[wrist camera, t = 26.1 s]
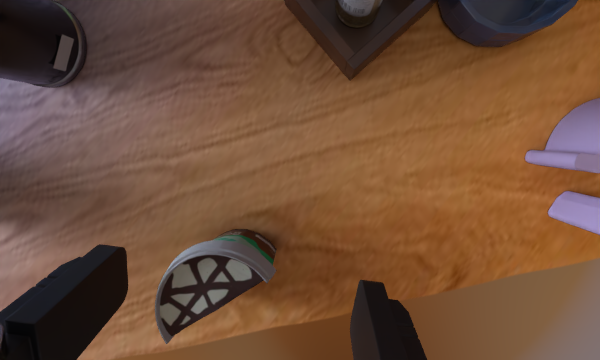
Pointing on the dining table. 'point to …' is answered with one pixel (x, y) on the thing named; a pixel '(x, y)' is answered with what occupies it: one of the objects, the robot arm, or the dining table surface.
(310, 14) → the box
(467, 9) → the bowl
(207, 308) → the food container
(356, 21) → the sprinkles bottle
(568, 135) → the clip
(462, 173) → the dining table surface
